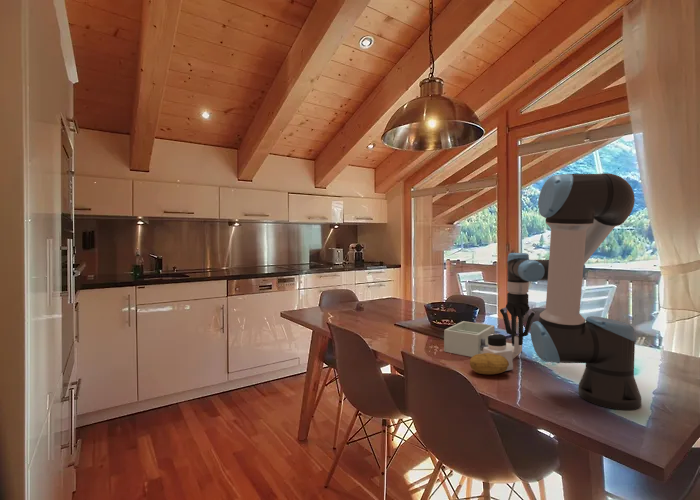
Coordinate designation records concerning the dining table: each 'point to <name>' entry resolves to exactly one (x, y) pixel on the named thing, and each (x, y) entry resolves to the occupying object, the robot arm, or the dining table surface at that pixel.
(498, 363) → the potato
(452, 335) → the open box
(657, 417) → the dining table surface
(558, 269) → the robot arm
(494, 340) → the medicine bottle
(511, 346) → the white flat block
